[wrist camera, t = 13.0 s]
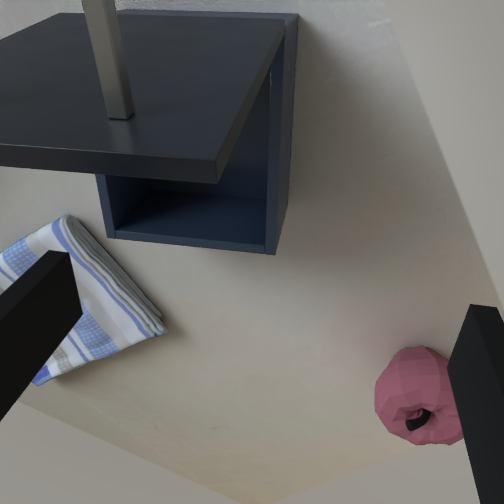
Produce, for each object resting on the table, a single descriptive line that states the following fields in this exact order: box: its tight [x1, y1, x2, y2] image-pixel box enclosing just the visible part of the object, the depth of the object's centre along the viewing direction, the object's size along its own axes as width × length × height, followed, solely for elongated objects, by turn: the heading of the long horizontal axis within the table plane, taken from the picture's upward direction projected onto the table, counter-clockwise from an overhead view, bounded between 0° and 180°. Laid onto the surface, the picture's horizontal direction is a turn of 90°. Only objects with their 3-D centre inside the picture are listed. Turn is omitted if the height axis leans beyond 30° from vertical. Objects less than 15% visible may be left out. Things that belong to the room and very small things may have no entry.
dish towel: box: [0, 215, 169, 386], centre depth 52 cm, size 17×24×3 cm
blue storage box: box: [95, 9, 299, 255], centre depth 34 cm, size 16×14×9 cm
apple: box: [374, 346, 464, 445], centre depth 44 cm, size 10×9×10 cm
